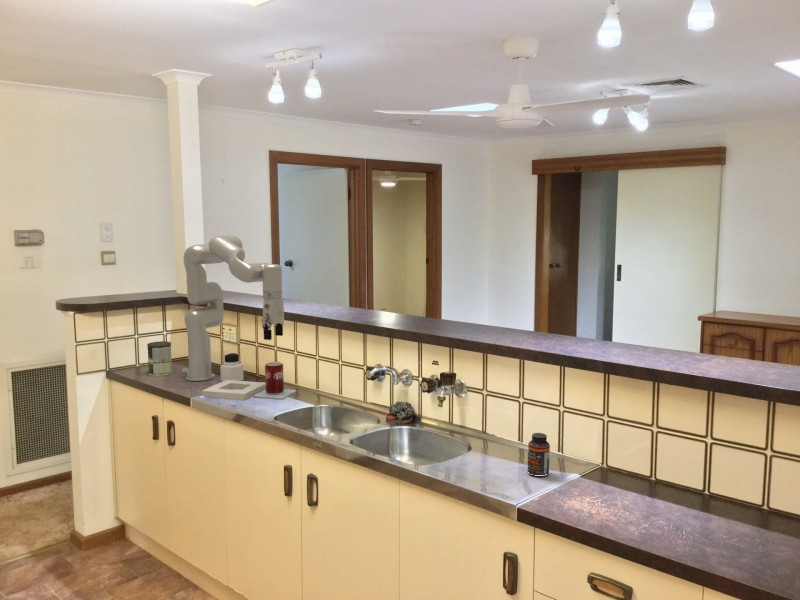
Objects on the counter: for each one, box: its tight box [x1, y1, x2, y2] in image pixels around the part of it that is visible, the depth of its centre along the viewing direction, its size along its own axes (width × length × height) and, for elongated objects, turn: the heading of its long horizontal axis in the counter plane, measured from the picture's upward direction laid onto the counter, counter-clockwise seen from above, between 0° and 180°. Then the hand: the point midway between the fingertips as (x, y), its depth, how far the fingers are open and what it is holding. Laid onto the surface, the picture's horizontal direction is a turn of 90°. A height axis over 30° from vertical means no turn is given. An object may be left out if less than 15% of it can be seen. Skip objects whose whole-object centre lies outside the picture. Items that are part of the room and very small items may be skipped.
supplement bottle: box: [526, 432, 551, 475], centre depth 188 cm, size 6×6×11 cm
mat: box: [252, 388, 298, 401], centre depth 274 cm, size 13×13×1 cm
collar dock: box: [201, 380, 266, 401], centre depth 277 cm, size 19×19×2 cm
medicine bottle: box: [219, 352, 245, 382], centre depth 297 cm, size 7×7×12 cm
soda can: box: [264, 361, 285, 395], centre depth 273 cm, size 7×7×12 cm
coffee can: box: [146, 340, 173, 377], centre depth 311 cm, size 10×10×14 cm
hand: (273, 337), depth 272 cm, fingers open, 9 cm apart
